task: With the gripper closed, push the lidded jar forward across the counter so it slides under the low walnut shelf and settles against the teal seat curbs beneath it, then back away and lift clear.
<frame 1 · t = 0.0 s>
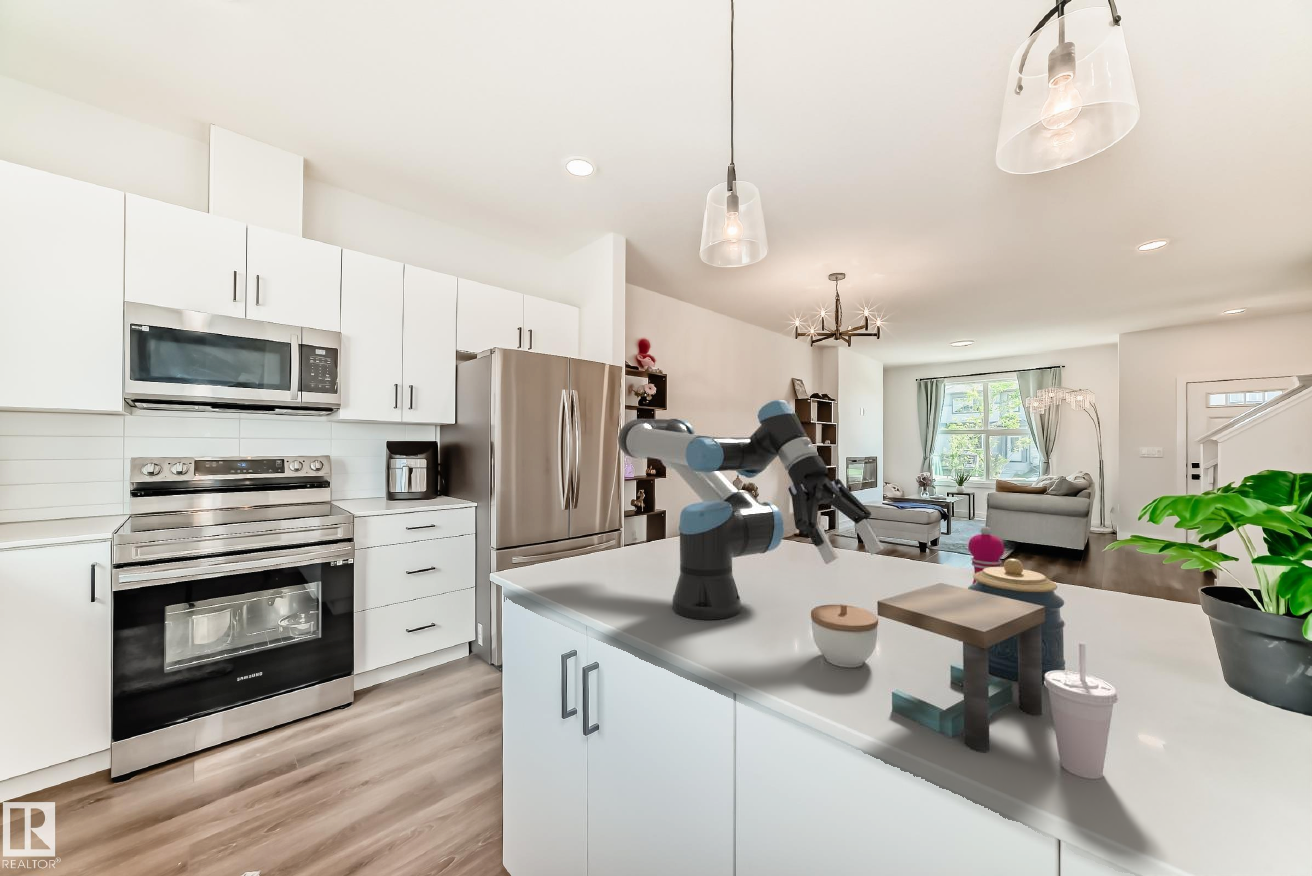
hand: (855, 556, 96), 15 cm above the counter, tool tilted 35°, fingers open, 13 cm apart
pepper mill: (987, 628, 101), on the counter
smoothie: (1080, 769, 57), on the counter
canister: (1014, 667, 83), on the counter
overhang shelf: (960, 708, 70), on the counter
lidded jar: (844, 661, 86), on the counter
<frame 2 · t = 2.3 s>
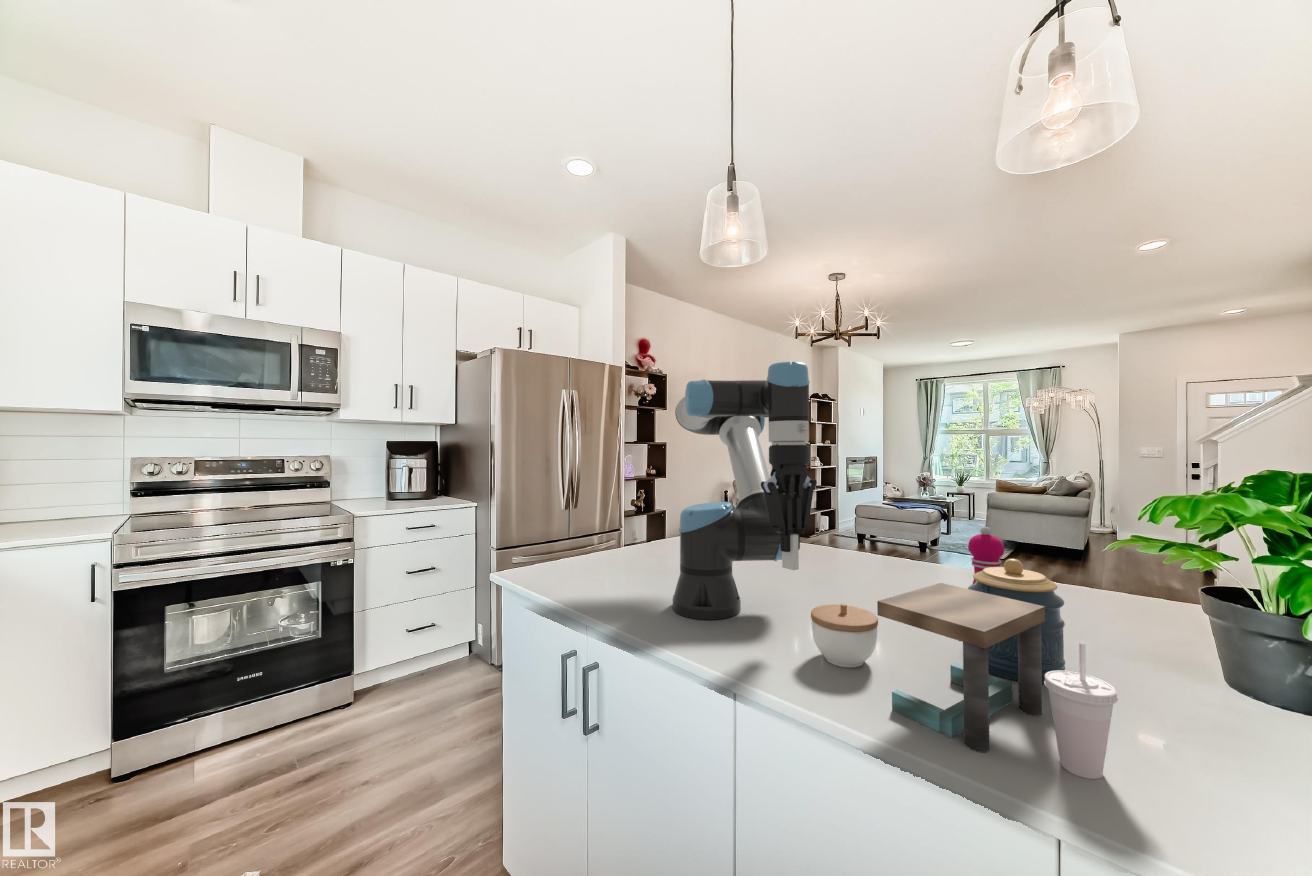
hand: (790, 568, 96), 13 cm above the counter, tool pointing down, fingers closed
nothing on the counter moved.
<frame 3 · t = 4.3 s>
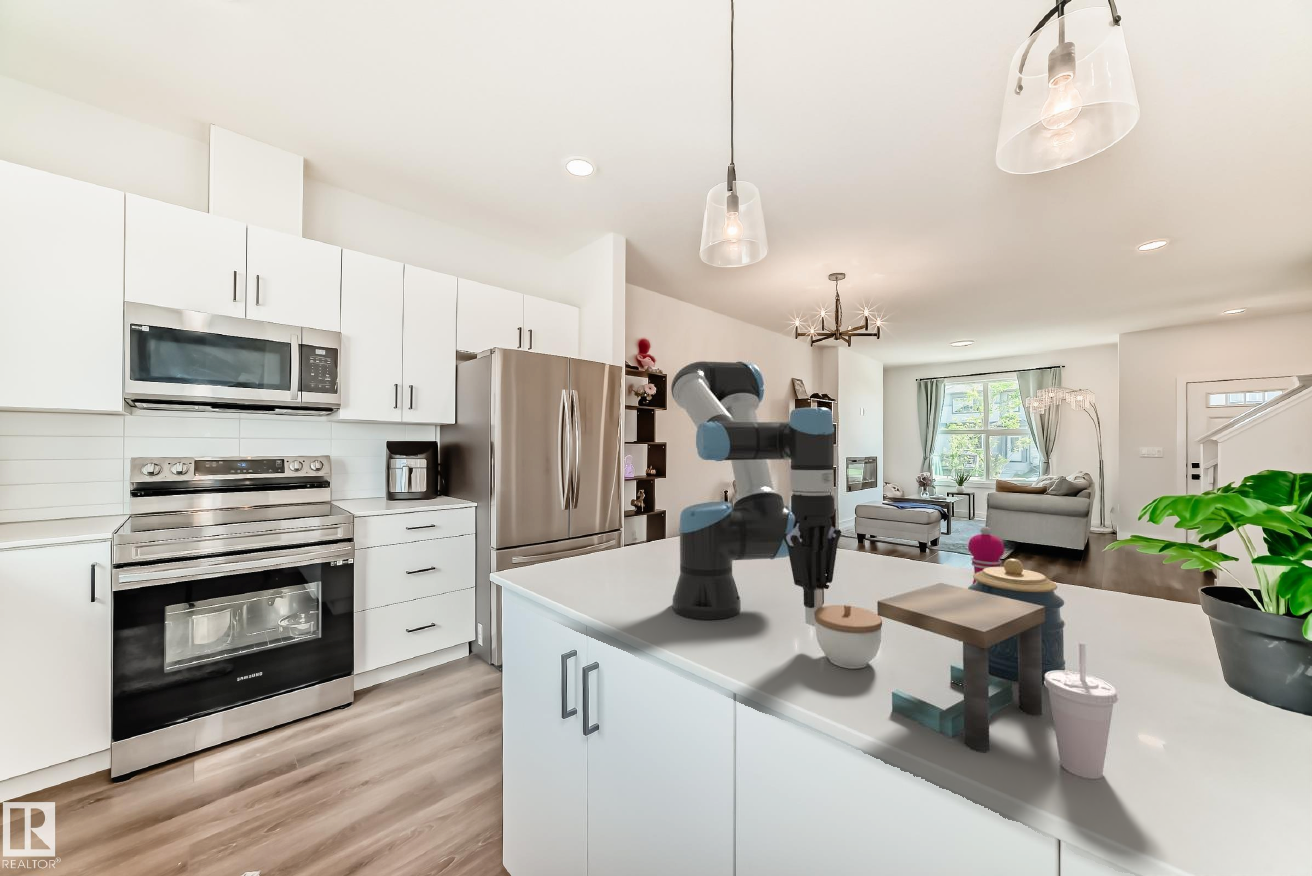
hand: (814, 624, 91), 4 cm above the counter, tool pointing down, fingers closed
lidded jar: (847, 662, 86), on the counter, touching gripper
everything else where it was.
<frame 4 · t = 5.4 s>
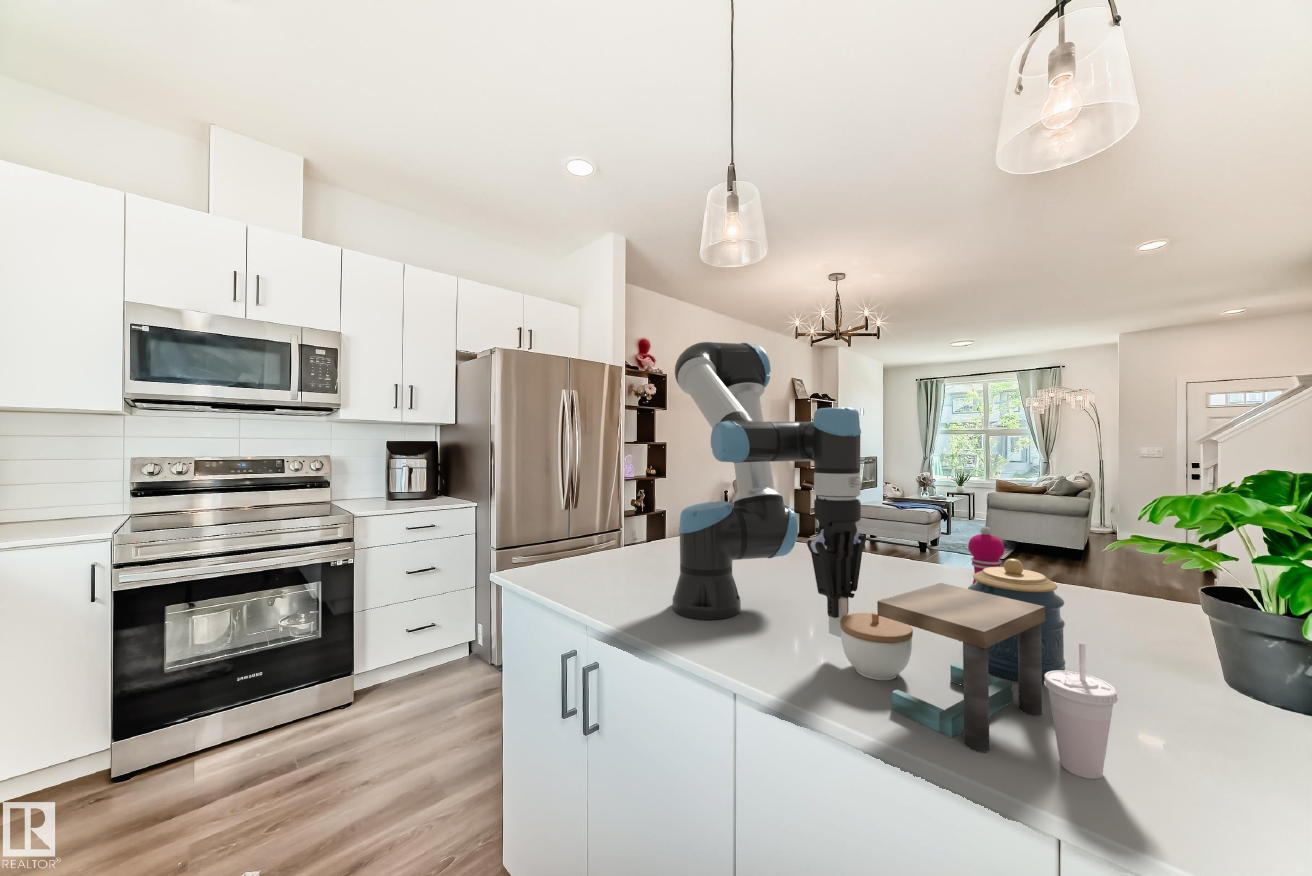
hand: (838, 634, 87), 4 cm above the counter, tool pointing down, fingers closed
lidded jar: (875, 673, 82), on the counter, touching gripper
everything else where it was.
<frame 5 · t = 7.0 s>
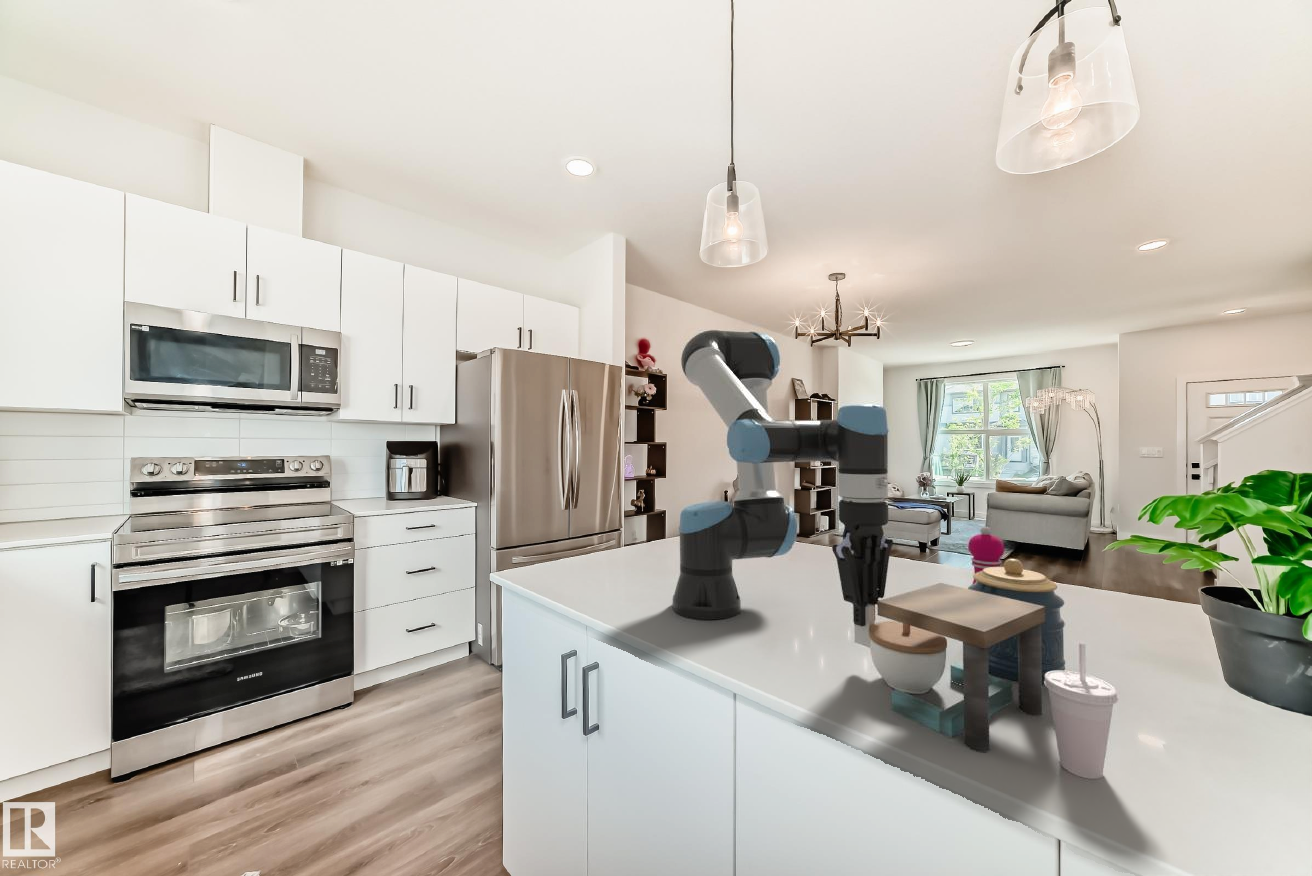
hand: (864, 643, 83), 4 cm above the counter, tool pointing down, fingers closed
lidded jar: (907, 685, 77), on the counter, touching gripper
everything else where it was.
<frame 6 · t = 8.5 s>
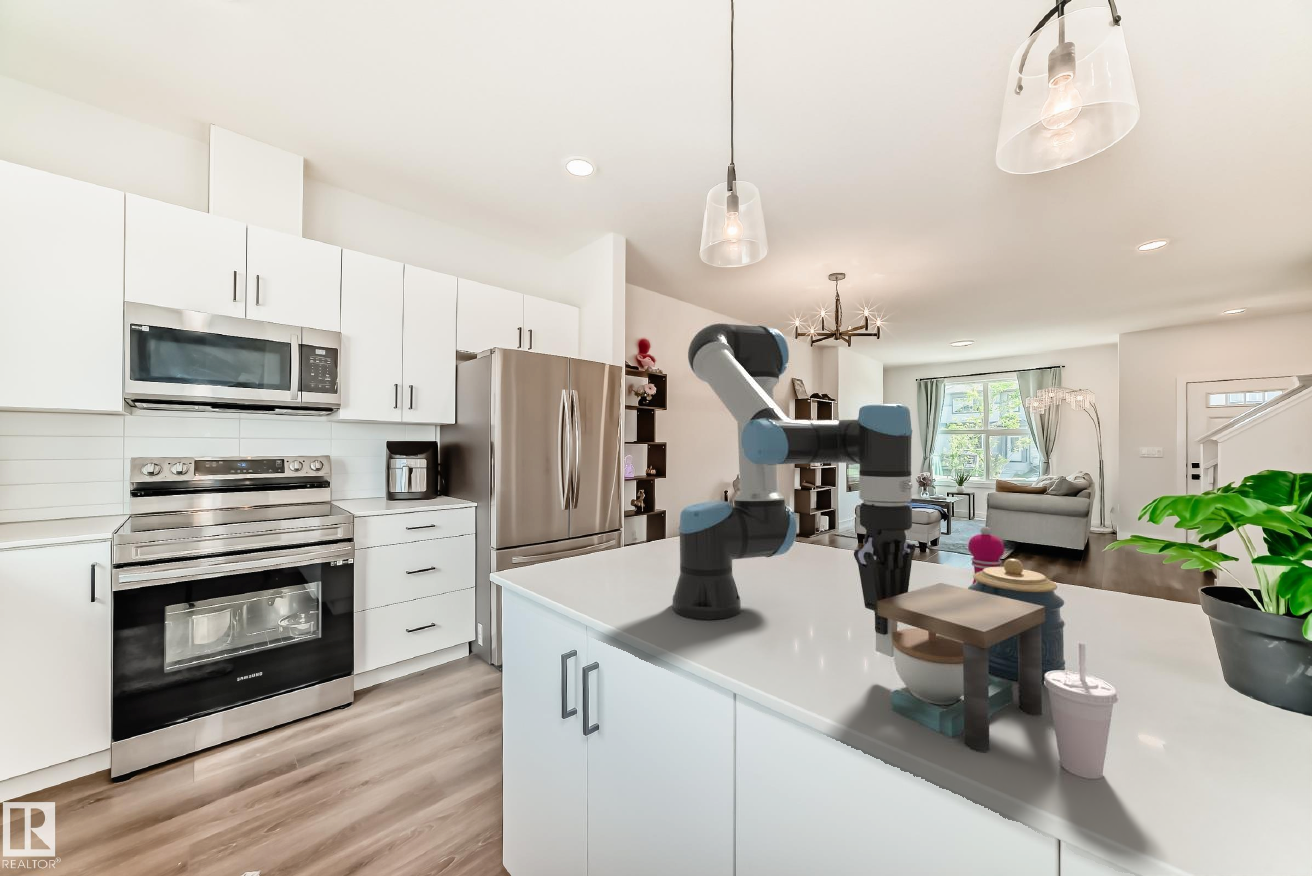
hand: (886, 652, 80), 4 cm above the counter, tool pointing down, fingers closed
lidded jar: (933, 695, 74), on the counter, touching gripper
everything else where it was.
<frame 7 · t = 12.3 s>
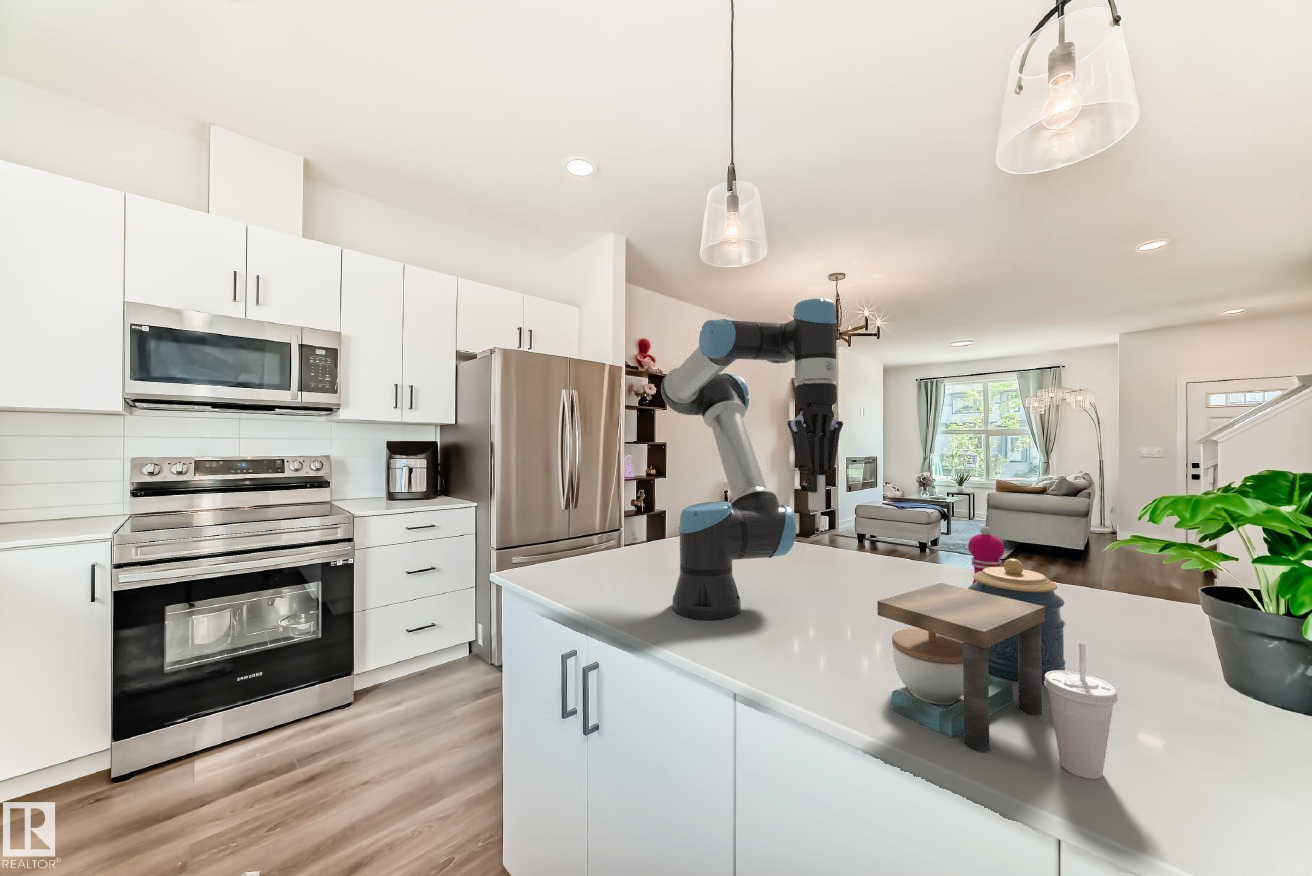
hand: (816, 509, 95), 24 cm above the counter, tool pointing down, fingers closed
lidded jar: (933, 695, 74), on the counter
everything else where it was.
at the end: lidded jar 1.0 cm from the target spot, on the counter; lidded jar tilted 0° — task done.
